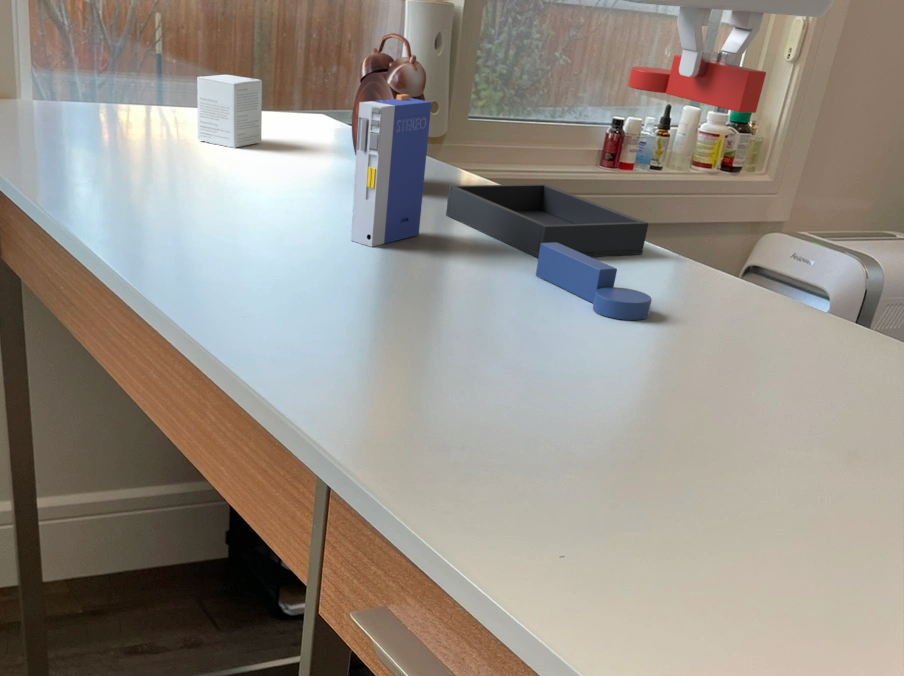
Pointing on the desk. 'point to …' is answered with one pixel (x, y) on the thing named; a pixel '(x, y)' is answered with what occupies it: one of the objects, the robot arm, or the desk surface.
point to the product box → (229, 110)
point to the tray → (546, 219)
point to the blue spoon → (591, 282)
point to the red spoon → (705, 84)
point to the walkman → (389, 169)
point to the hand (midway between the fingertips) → (706, 77)
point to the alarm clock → (388, 79)
